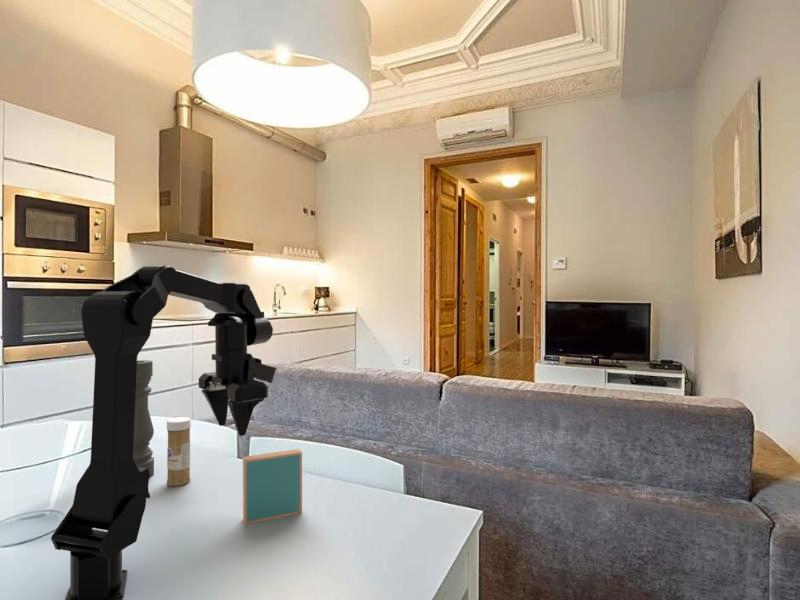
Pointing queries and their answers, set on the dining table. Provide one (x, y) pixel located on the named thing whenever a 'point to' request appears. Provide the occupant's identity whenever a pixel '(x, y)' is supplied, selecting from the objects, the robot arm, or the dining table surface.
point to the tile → (272, 485)
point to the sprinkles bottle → (178, 451)
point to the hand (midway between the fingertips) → (231, 430)
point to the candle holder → (143, 418)
